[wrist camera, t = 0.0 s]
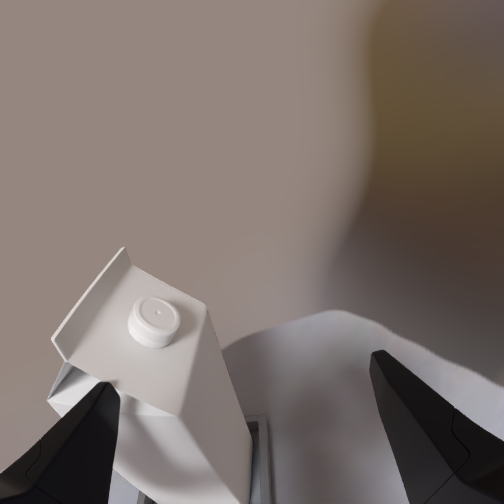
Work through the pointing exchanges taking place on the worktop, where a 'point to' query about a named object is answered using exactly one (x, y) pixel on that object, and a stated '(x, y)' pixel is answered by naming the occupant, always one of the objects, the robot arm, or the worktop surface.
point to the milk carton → (157, 387)
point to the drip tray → (265, 476)
